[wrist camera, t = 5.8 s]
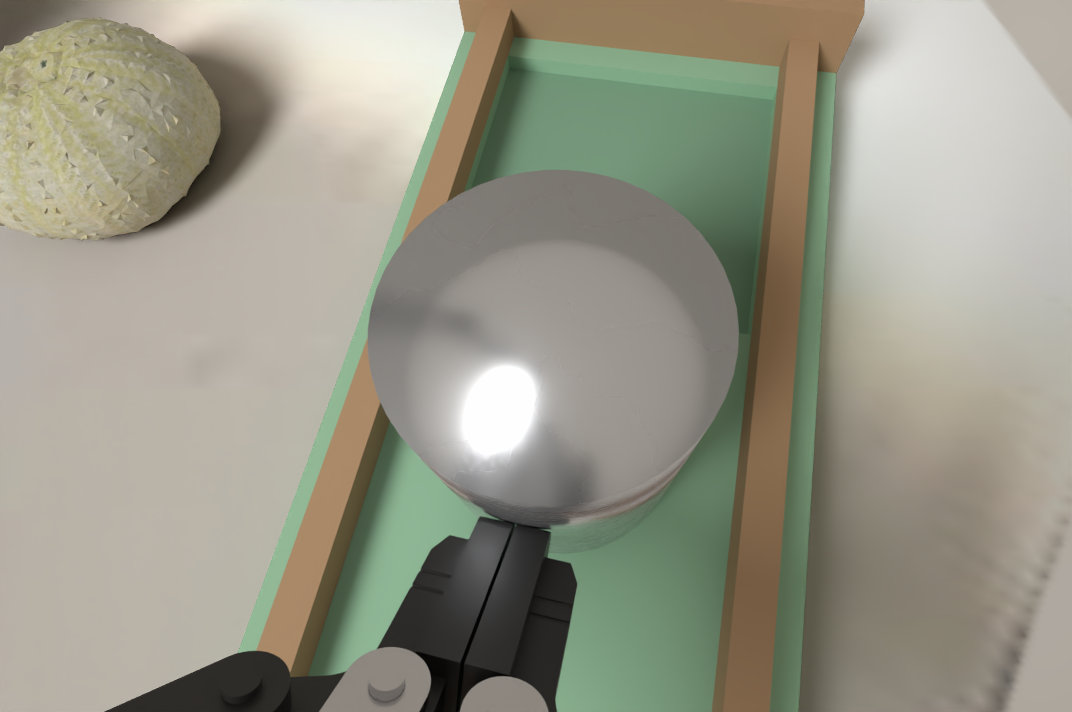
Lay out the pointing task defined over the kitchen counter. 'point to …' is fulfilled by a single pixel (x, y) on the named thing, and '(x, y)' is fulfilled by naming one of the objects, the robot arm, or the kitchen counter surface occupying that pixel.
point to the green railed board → (745, 415)
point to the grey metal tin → (554, 350)
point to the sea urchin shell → (99, 130)
